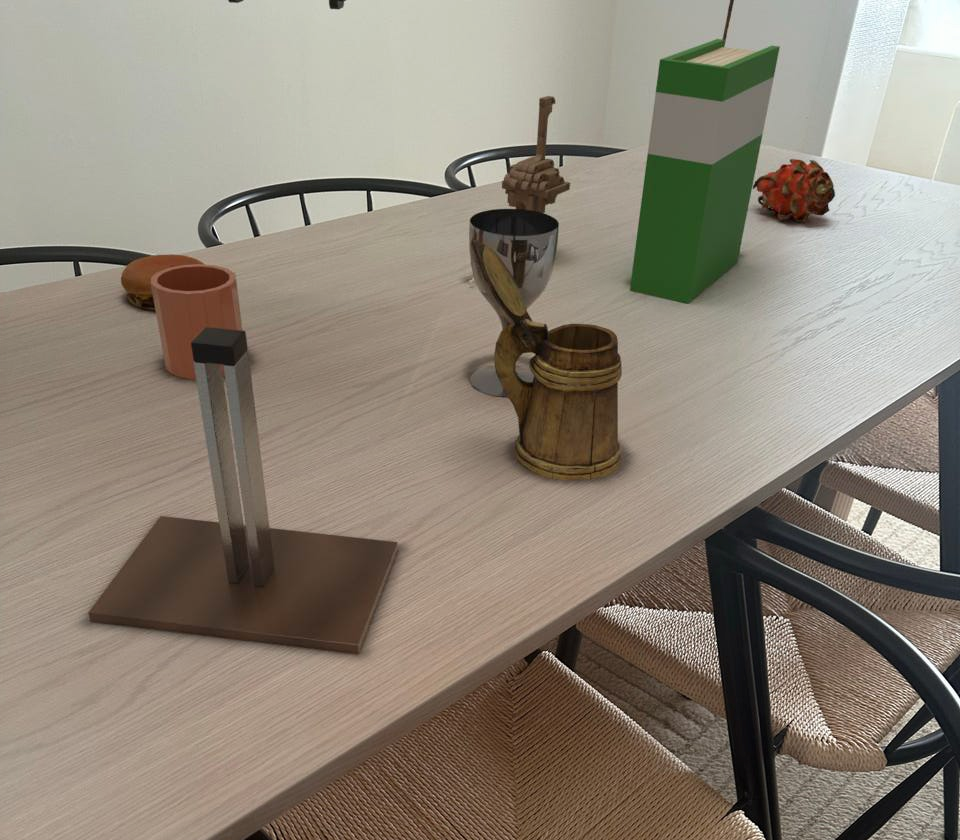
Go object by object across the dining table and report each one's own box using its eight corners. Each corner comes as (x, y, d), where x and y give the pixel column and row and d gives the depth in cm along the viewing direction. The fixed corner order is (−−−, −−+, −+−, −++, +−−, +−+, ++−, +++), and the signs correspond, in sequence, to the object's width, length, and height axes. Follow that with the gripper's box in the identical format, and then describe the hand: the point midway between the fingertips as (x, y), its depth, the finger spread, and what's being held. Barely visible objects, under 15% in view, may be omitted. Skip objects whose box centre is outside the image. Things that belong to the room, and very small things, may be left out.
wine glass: (454, 390, 95) (457, 228, 85) (480, 358, 101) (486, 204, 91) (533, 404, 93) (545, 241, 84) (555, 371, 99) (569, 215, 89)
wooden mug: (472, 428, 89) (478, 220, 78) (622, 443, 88) (651, 234, 76) (455, 477, 82) (459, 257, 71) (618, 494, 81) (648, 272, 69)
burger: (136, 286, 113) (128, 245, 110) (219, 287, 114) (213, 246, 111) (118, 320, 105) (110, 276, 102) (207, 321, 106) (201, 277, 103)
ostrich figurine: (521, 246, 129) (530, 91, 117) (565, 257, 126) (578, 99, 115) (444, 281, 118) (445, 113, 106) (490, 294, 115) (497, 123, 104)
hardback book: (683, 250, 130) (717, 38, 114) (737, 261, 127) (779, 46, 112) (629, 290, 118) (659, 59, 102) (688, 303, 115) (728, 68, 100)
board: (92, 630, 65) (87, 612, 64) (163, 532, 74) (160, 515, 73) (358, 663, 63) (357, 645, 63) (398, 558, 73) (397, 541, 72)
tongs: (228, 582, 67) (189, 342, 56) (240, 563, 69) (205, 326, 58) (263, 587, 67) (232, 346, 56) (274, 567, 69) (246, 330, 58)
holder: (154, 383, 94) (137, 289, 88) (184, 351, 100) (169, 261, 94) (231, 390, 93) (218, 296, 88) (257, 358, 99) (247, 267, 93)
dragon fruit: (828, 241, 140) (749, 235, 146) (850, 192, 141) (771, 189, 148) (820, 196, 133) (736, 192, 139) (843, 146, 134) (760, 144, 141)
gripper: (150, -269, 69) (186, 6, 79) (349, -262, 67) (360, 16, 78) (190, -260, 75) (219, -6, 85) (374, -254, 73) (381, 4, 83)
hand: (286, 5), depth 81 cm, fingers open, 8 cm apart
